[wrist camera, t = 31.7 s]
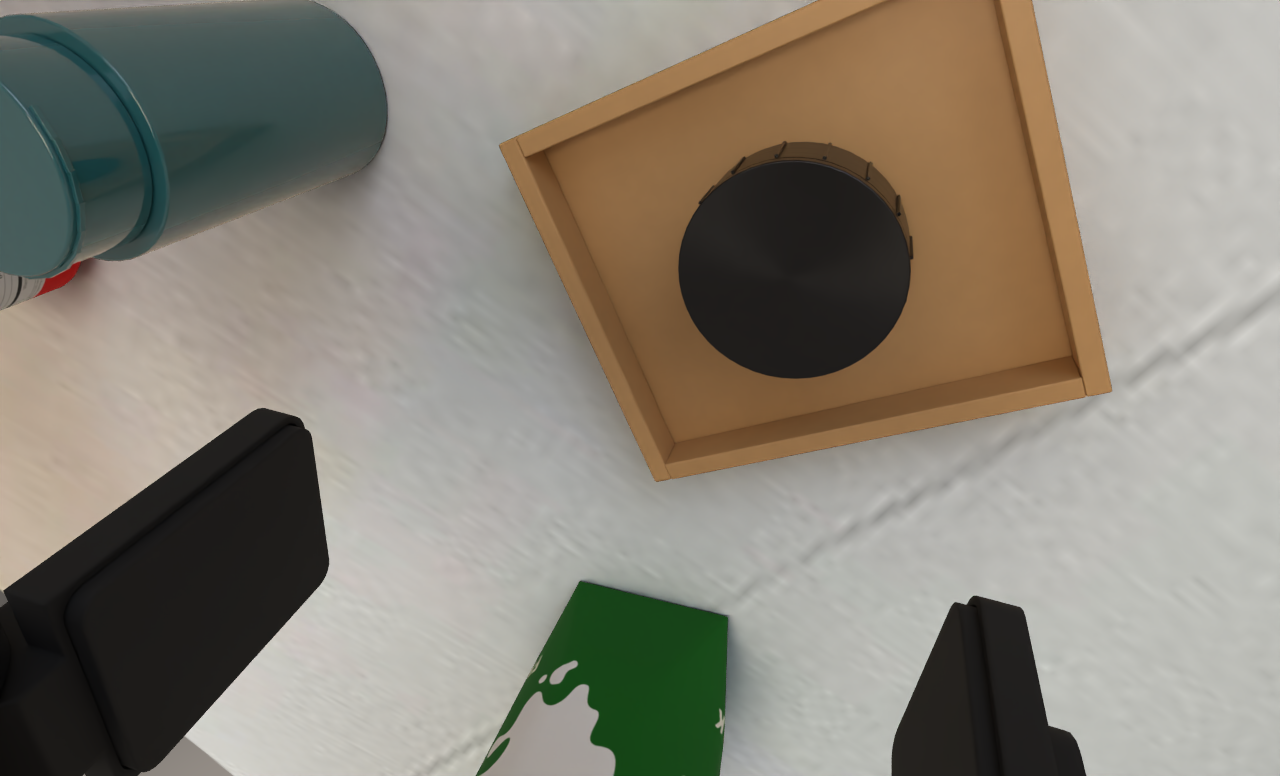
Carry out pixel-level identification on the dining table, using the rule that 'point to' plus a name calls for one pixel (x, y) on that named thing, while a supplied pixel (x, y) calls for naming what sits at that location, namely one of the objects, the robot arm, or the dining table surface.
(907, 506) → the dining table surface
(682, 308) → the tray
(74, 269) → the beverage can
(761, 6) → the dining table surface
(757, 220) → the lid
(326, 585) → the dining table surface
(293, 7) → the jar
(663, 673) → the milk carton
